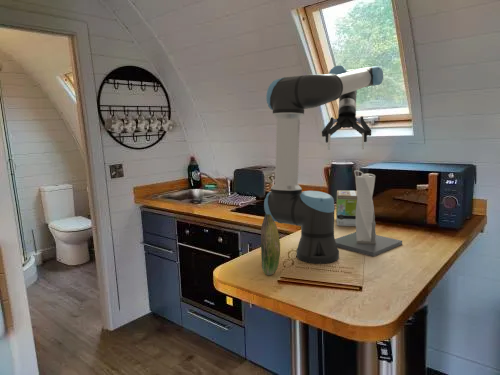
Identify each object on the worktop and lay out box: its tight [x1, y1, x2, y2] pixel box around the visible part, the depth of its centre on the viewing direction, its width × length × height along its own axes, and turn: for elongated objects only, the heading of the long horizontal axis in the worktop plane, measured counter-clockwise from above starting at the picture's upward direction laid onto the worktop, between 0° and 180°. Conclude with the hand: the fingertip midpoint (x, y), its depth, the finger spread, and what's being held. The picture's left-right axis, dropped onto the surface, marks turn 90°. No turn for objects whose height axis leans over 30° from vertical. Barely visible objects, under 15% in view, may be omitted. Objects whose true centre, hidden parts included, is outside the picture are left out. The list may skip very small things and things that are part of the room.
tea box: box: [335, 190, 357, 227], centre depth 185 cm, size 15×10×15 cm, turn 168°
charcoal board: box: [335, 231, 403, 257], centre depth 152 cm, size 20×20×2 cm
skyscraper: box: [353, 169, 377, 244], centre depth 149 cm, size 8×8×28 cm
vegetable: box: [260, 213, 281, 276], centre depth 122 cm, size 6×6×20 cm
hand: (345, 147), depth 158 cm, fingers open, 13 cm apart
